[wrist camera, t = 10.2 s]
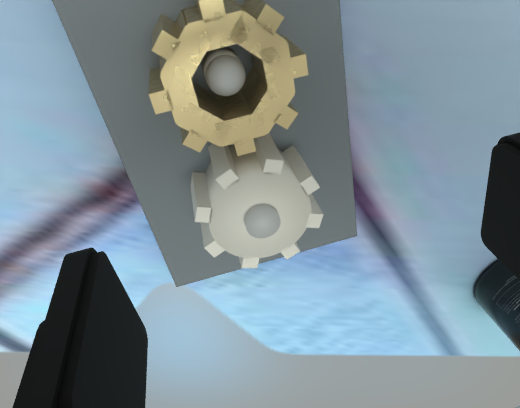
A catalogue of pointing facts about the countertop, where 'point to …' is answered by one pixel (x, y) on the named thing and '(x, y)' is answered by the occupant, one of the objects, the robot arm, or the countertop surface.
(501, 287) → the supplement bottle
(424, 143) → the countertop surface
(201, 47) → the brass gear
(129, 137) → the gear board
